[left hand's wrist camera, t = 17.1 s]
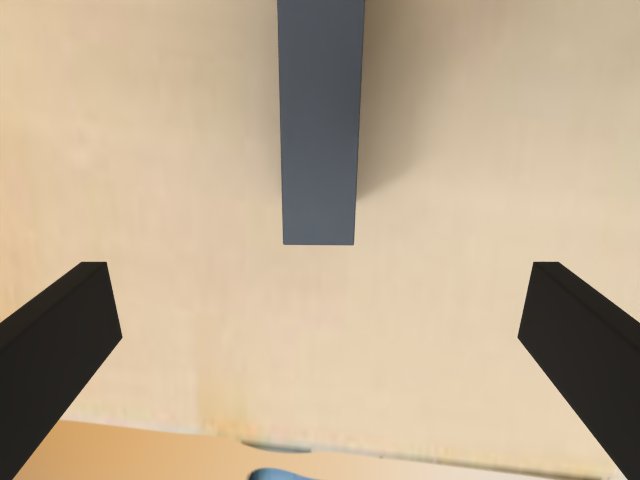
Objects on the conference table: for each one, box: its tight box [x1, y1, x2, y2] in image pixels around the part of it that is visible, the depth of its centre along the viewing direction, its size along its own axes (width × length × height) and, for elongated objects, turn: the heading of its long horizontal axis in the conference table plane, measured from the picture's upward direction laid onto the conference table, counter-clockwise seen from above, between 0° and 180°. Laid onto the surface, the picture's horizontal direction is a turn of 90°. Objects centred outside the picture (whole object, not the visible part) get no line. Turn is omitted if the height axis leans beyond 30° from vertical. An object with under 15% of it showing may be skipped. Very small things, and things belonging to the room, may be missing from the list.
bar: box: [277, 0, 365, 245], centre depth 25 cm, size 24×5×9 cm, turn 179°
